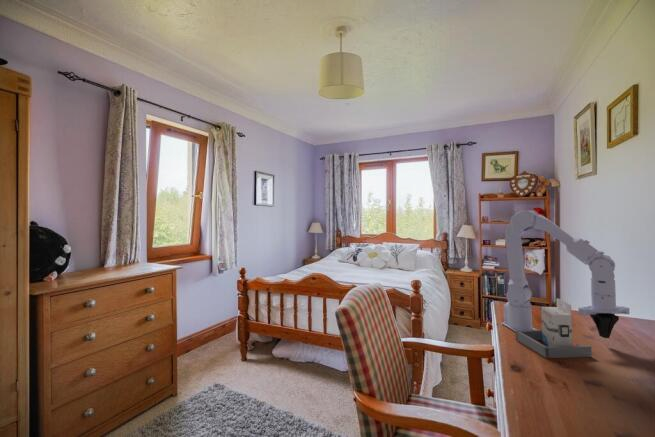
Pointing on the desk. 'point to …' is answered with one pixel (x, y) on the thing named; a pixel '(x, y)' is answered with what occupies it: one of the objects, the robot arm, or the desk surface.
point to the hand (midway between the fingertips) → (604, 336)
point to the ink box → (557, 325)
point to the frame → (551, 351)
